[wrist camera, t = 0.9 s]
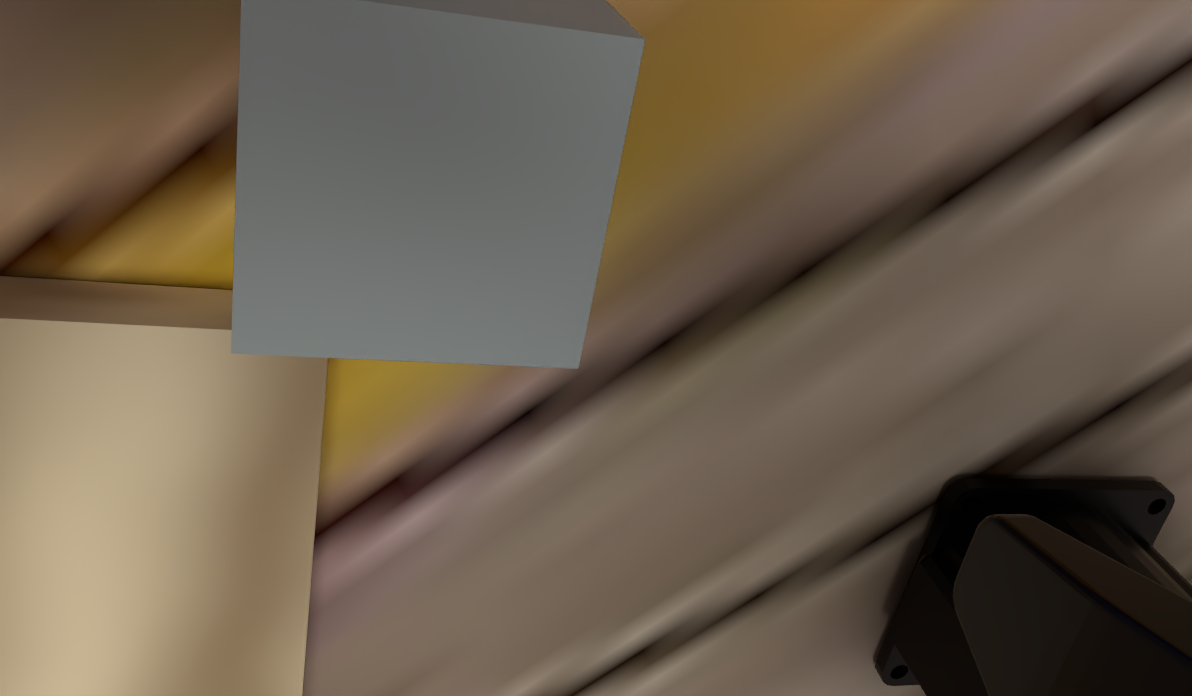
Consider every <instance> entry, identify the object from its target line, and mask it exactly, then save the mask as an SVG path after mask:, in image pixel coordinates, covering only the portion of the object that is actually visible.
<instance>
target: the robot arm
mask: <svg viewBox="0 0 1192 696" xmlns="http://www.w3.org/2000/svg"><path fill="white" fill-rule="evenodd" d="M969 497H970V498H969ZM967 498H969V499H968V500H966V499H967ZM964 500H966V501H965V502H964ZM1174 501H1175V499H1174V495H1173V494H1172V493H1171V492H1170V491H1169V490H1168V489H1167V488H1166V487H1164V486H1163V485H1162V484H1161V483H1160V482H1156V481H1110V480H1053V479H996V478H966V479H961V480H959V481H957V482H955V483H954V484H953V485H951V486H950V487H949V488H948V490H947V491H946V493H945V494H944V497H943V499H942V502H941V504H940V507H939V509H938V511H937V514H936V516H935V519H934V521H933V524H932V526H931V528H930V531H929V533H928V536H927V538H926V541H925V543H924V546H923V548H922V550H921V553H920V555H919V558H918V560H917V563H916V565H915V567H914V570H913V572H912V575H911V577H910V580H909V582H908V584H907V587H906V589H905V592H904V594H903V597H902V599H901V602H900V604H899V606H898V609H897V611H896V614H895V616H894V619H893V621H892V623H891V626H890V628H889V631H888V633H887V636H886V638H885V640H884V643H883V645H882V648H881V650H880V653H879V655H878V658H877V660H876V664H875V668H876V670H877V672H878V674H879V676H880V677H881V679H882V681H883V682H884V683H885V684H887V685H891V686H900V685H920V686H921V688H922V689H923V691H924V692H925V694H926V696H1192V585H1191V584H1190V583H1189V582H1188V581H1187V580H1186V579H1185V578H1184V577H1183V576H1181V575H1180V574H1179V573H1178V572H1177V571H1176V570H1175V569H1174V568H1173V567H1172V566H1171V565H1170V564H1169V563H1168V562H1167V561H1166V560H1165V559H1164V558H1163V557H1162V556H1161V555H1160V554H1159V553H1158V552H1157V551H1156V550H1155V549H1154V548H1153V547H1152V544H1153V543H1154V541H1155V539H1156V537H1157V535H1158V533H1159V531H1160V530H1161V528H1162V526H1163V524H1164V522H1165V520H1166V518H1167V516H1168V515H1169V513H1170V511H1171V509H1172V507H1173V504H1174Z"/></svg>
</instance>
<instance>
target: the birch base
mask: <svg viewBox="0 0 1192 696" xmlns="http://www.w3.org/2000/svg"><path fill="white" fill-rule="evenodd" d="M232 300H233V290H222V289H205V288H189V287H173V286H156V285H140V284H123V283H107V282H91V281H74V280H58V279H41V278H25V277H8V276H0V696H302V690H303V677H304V664H305V651H306V638H307V626H308V613H309V600H310V587H311V574H312V561H313V548H314V535H315V522H316V509H317V496H318V483H319V471H320V458H321V445H322V432H323V419H324V406H325V393H326V380H327V367H328V358H320V357H297V356H274V355H252V354H231V335H232Z"/></svg>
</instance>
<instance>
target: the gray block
mask: <svg viewBox="0 0 1192 696" xmlns="http://www.w3.org/2000/svg"><path fill="white" fill-rule="evenodd" d="M644 43H645V39H644V38H643V37H642V36H641V35H640V34H639V33H638V32H637V31H636V30H635V29H634V28H633V27H632V26H631V25H630V24H629V23H628V22H627V21H626V20H625V19H624V18H623V17H622V16H621V15H620V14H619V13H618V12H617V11H616V10H615V9H614V8H613V7H612V6H611V5H610V4H609V3H608V2H607V1H606V0H241V23H240V58H239V92H238V127H237V162H236V196H235V231H234V265H233V300H232V335H231V354H252V355H274V356H297V357H320V358H343V359H366V360H388V361H411V362H434V363H457V364H480V365H502V366H525V367H548V368H571V369H578V368H579V363H580V358H581V353H582V348H583V344H584V339H585V334H586V329H587V324H588V319H589V314H590V309H591V304H592V299H593V294H594V289H595V285H596V280H597V275H598V270H599V265H600V260H601V255H602V250H603V245H604V240H605V235H606V230H607V226H608V221H609V216H610V211H611V206H612V201H613V196H614V191H615V186H616V181H617V176H618V171H619V166H620V162H621V157H622V152H623V147H624V142H625V137H626V132H627V127H628V122H629V117H630V112H631V107H632V103H633V98H634V93H635V88H636V83H637V78H638V73H639V68H640V63H641V58H642V53H643V48H644Z"/></svg>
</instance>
